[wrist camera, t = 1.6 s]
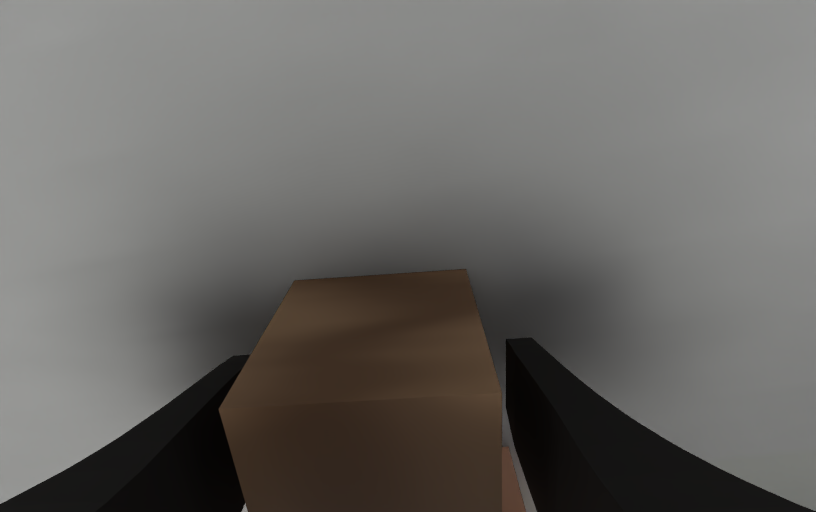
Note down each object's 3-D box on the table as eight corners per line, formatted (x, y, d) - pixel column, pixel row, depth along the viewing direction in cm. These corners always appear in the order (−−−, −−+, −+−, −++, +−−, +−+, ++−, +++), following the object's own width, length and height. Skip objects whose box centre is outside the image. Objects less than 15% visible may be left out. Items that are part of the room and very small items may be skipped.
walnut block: (465, 268, 12) (501, 392, 7) (470, 407, 13) (501, 584, 9) (294, 279, 12) (218, 409, 7) (320, 415, 13) (271, 593, 9)
